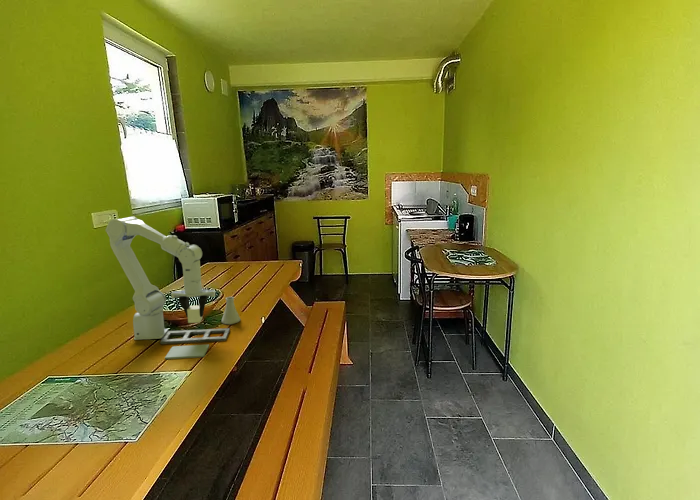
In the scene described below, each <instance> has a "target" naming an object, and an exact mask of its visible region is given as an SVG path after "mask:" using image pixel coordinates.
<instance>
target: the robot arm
mask: <svg viewBox="0 0 700 500" xmlns="http://www.w3.org/2000/svg"><path fill="white" fill-rule="evenodd" d="M105 232H106V233H107V235H108V237H109V245H110V248H111V250H112V252H113V254H114V256H115V257H116V259H117V261H118V263H119V264H120V267H121V268H122V270H123V272H124V274H125V276H126V277H127V279H128V281H129V283H130V284H131V286H132V288H133V290H134V293H133V296H132V300H133V302H134V309H135V311H136V312H135V313H134V315H133V318H132V326H133V334H134V338H133V340H135V341H136V340H155V339H159V340H160V339H163V338H164V336H165V335H166V334H167V332H168V331H169V328H165V319H164V312H163V311H164V305H166V302H167V298H166V296H165V293H163V292H162V291H161V290H160V289H159V287H158V286H156V285H153V284H152V283H151V282H150V280H149V277H148V276H147V274H146V272H145V270H144V269H143V267H142V265H141V262H139V260H138V258H137V256H136V254H135V252H134V250H133V248H132V246H131V243H132V242H133V239H134V238H135V237H136V236H141V237H142V238H145V239H147V240H150V241H152V242H154V243H157V244H159V245H160V248H161V250H162V251H165V252H167V253H168V254H171V255H172V256H174V257H176V258H178V261H179V263H181V267H182V274H183V275H182V277H183V287H184V289H183V290H177V291H172V292H171V293H170V295H171V296H170V297H171V299H175V298H178V303H179V305H181V307H182V309H183V311H184V313H185V316H186V318H188V314H187V309H188V308H189V307H190V298H198V299H197V301H198V305H199V307H200V317H202V318H203V317H204V312H205V306H206V303H207V301H208V299H209V297H211V298H213V297H215V296H216V290H215V289H202V274H201V273H202V271H201V270H202V269H201V258H203V251H202V248H201V247H199V245H197V244H190V243H189V242H188V241H186V242H185V241H183V240H181V239H179V238H178V236H177V235H175V234H174V235H172V234H170V235H167V236H166V235H165V234H163V233H161V232H159V231H158V230H157V229H154V228H153V227H151V226H150V225H148V224H146V223H145V222H144V220H142V219H139V218H137V217H136V216H128V217H123V218H114V219H111V220H109V221H108V223H107V226H106V228H105Z"/></svg>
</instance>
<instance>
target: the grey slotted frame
mask: <svg viewBox="0 0 700 500" xmlns="http://www.w3.org/2000/svg"><path fill="white" fill-rule="evenodd" d="M230 331H231V330H230V327H227V328H208V329H205V328H204V329H203V328H202V329H184V330H182V329H181V330H168V331H167V332H166V334H165V335H164V336H163V337H162V338H161V340H160V342H159V343H160V345H172V344H173V345H174V344H190V343H210V342H226V341H227V338H228V337H229V334H230ZM211 334H223V336H210V335H211ZM191 335H203V336H202V337H191ZM171 336H182V337H181V338H170V337H171Z"/></svg>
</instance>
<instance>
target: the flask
mask: <svg viewBox="0 0 700 500" xmlns="http://www.w3.org/2000/svg"><path fill="white" fill-rule="evenodd" d="M224 299H225V302H226V303H225V304H226V305H225V308H224V312H223V315H222V318H221V321H220V322H221V324H224V325H233V324H236V323H237V324H238V323H239V322H240V321H241V320H242V319H241V317H240V315H239V313H238V311H237V308H236V305H235V301H234V300H235V297H234V296H228V297H225V298H224Z"/></svg>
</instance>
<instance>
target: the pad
mask: <svg viewBox="0 0 700 500" xmlns="http://www.w3.org/2000/svg"><path fill="white" fill-rule="evenodd" d="M209 348H210V344H194V345H193V344H192V345H179V346H178V345H174V346H173V345H172V347H171V348H170V349H169V351H168V352H167V354H166V355H165V357H164V359H165V360H176V359H191V358H195V359H196V358H204V357H205V356H206V354H207V351H208V349H209Z"/></svg>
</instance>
